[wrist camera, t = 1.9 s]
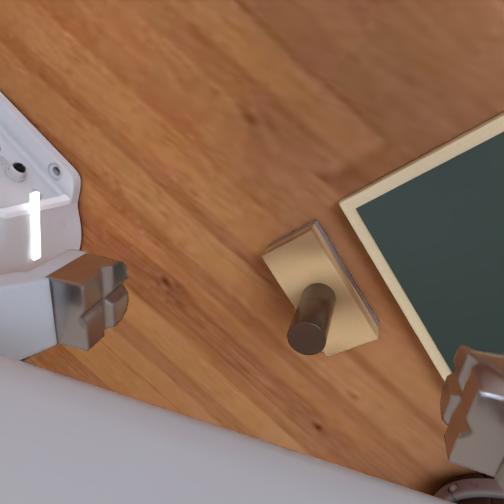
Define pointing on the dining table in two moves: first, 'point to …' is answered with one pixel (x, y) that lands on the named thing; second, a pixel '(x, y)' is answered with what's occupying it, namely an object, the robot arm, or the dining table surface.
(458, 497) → the flowerpot
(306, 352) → the eraser
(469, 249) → the chalkboard
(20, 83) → the dining table surface
